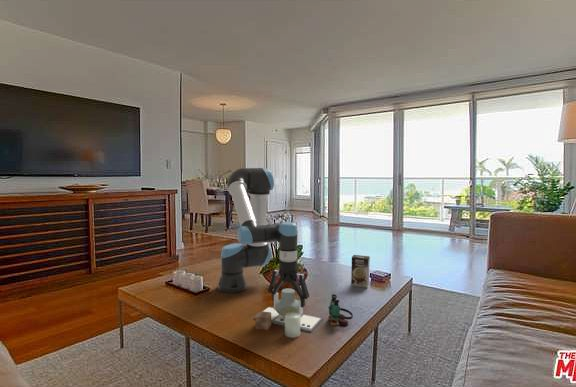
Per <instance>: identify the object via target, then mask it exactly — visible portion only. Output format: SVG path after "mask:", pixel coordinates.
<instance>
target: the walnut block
mask: <svg viewBox="0 0 576 387" xmlns="http://www.w3.org/2000/svg"><path fill="white" fill-rule="evenodd" d="M255 316H256V319H255V330H264V331H269V329H270V327H271V326H272V323H271V312H262V311H261V310H260V311H258V313H257V314H256V315H255Z"/></svg>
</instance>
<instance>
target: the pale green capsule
mask: <svg viewBox="0 0 576 387" xmlns="http://www.w3.org/2000/svg"><path fill="white" fill-rule="evenodd" d="M284 335H285V336H286V337H288V338H293V339H294V338H298V337H299V336H301V330H300V314H298V313H287V314H285V326H284Z"/></svg>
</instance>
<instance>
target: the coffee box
mask: <svg viewBox="0 0 576 387" xmlns="http://www.w3.org/2000/svg"><path fill="white" fill-rule="evenodd" d="M370 259H371V258H370V256H369V255H359V254H353V255H352V256H351V272H350V273H351V276H350V277H351V278H350V280H351V281H350V282H351V284H350V286H351V287H356V288H357V287H359V288H365V289H368V287H369V285H370Z"/></svg>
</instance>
